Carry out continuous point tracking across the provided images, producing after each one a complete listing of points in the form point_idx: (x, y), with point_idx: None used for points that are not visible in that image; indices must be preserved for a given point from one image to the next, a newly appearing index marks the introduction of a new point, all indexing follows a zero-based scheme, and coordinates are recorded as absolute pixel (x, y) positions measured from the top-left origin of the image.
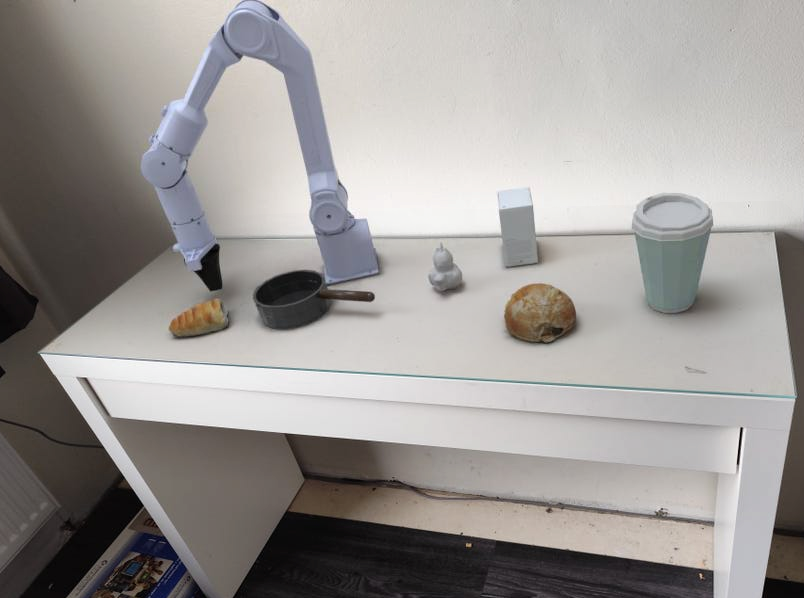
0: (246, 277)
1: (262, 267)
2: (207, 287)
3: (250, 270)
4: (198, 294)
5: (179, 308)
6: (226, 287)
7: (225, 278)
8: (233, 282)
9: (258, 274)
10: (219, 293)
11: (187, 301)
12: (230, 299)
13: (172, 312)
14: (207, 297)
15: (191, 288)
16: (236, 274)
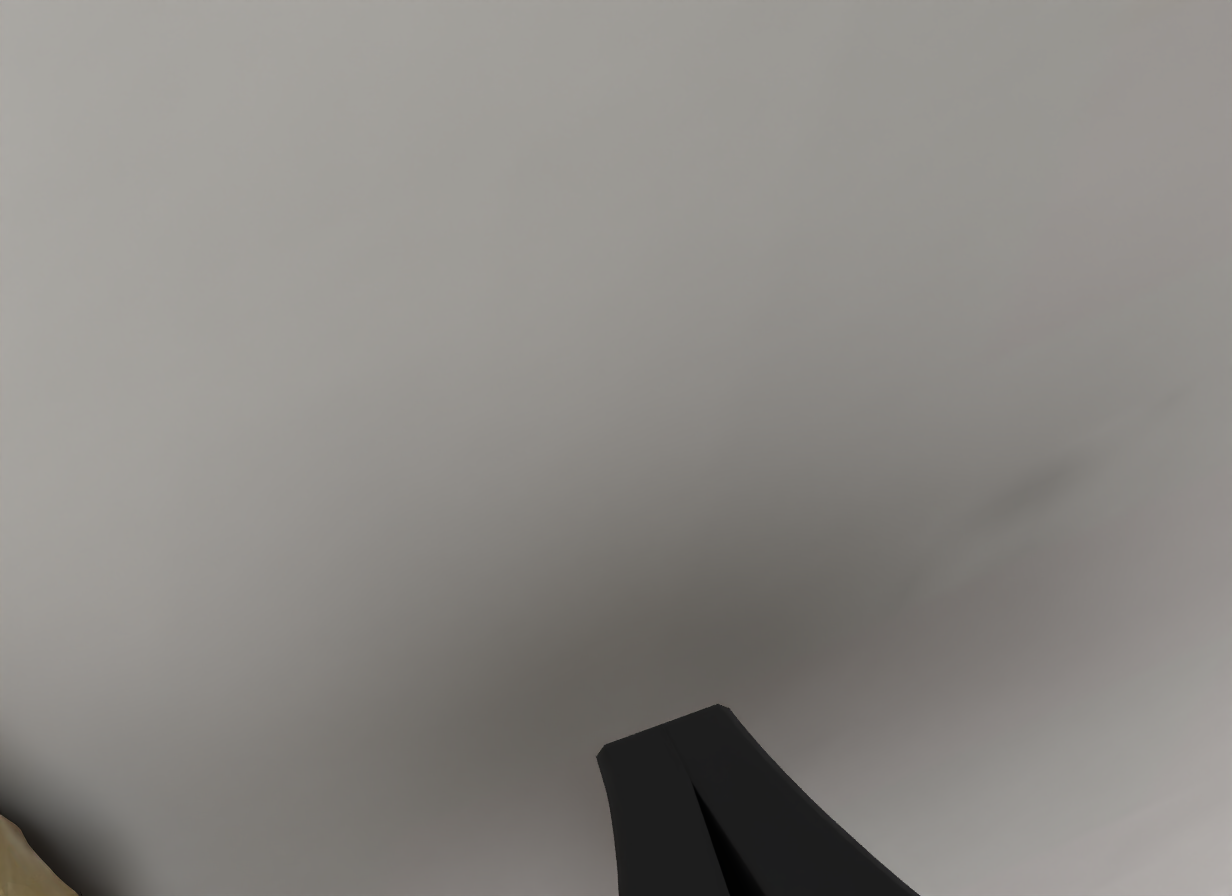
0: (1055, 767)
1: (1213, 825)
2: (615, 803)
3: (1216, 730)
4: (817, 284)
5: (339, 113)
6: (886, 643)
7: (1168, 507)
8: (994, 671)
9: (1064, 861)
10: (737, 627)
11: (605, 172)
12: (513, 853)
13: (169, 8)
14: (661, 499)
15: (1104, 25)
16: (1205, 608)
